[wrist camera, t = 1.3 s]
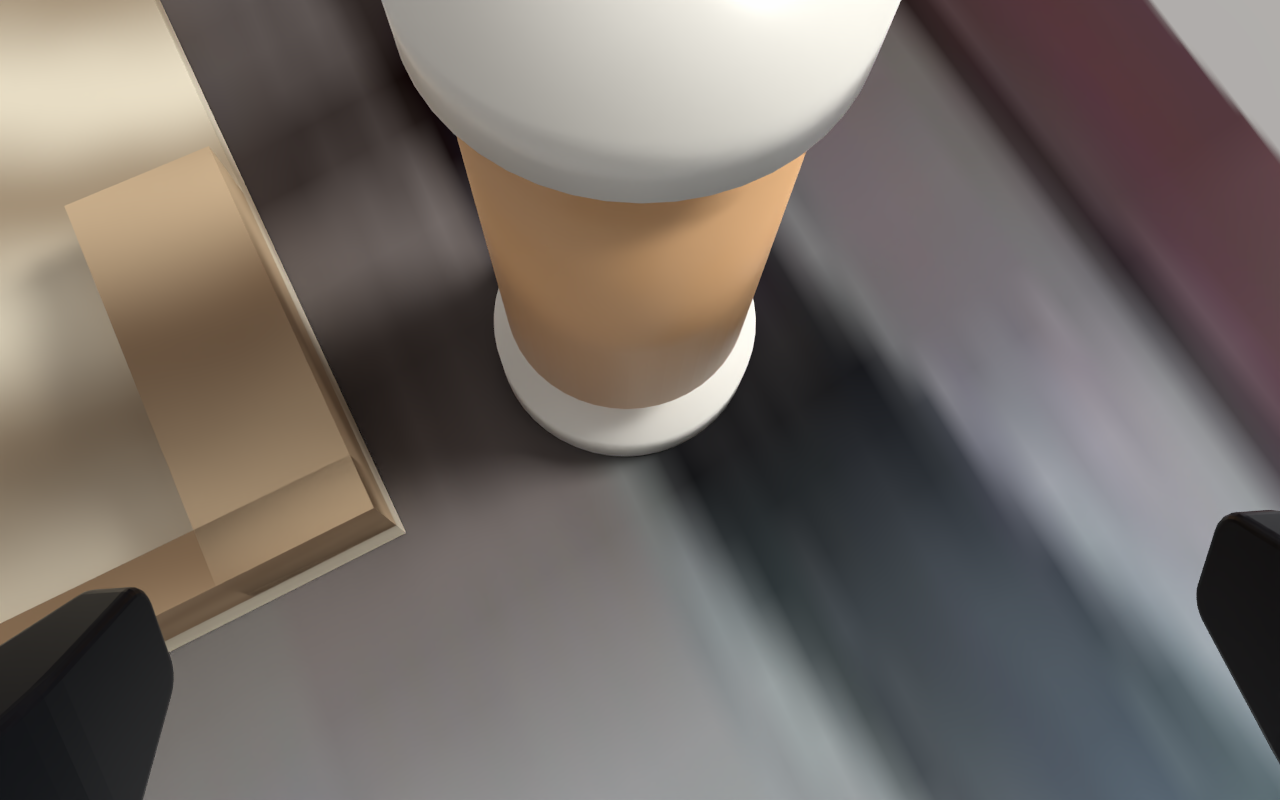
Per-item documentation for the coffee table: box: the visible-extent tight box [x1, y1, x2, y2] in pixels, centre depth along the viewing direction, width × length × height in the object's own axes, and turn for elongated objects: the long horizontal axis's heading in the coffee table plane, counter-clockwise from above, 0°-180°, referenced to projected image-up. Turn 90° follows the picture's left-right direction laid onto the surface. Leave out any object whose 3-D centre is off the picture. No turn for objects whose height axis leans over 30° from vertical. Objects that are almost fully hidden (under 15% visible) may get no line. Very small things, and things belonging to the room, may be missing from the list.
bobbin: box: [382, 0, 901, 457], centre depth 16 cm, size 6×6×13 cm
